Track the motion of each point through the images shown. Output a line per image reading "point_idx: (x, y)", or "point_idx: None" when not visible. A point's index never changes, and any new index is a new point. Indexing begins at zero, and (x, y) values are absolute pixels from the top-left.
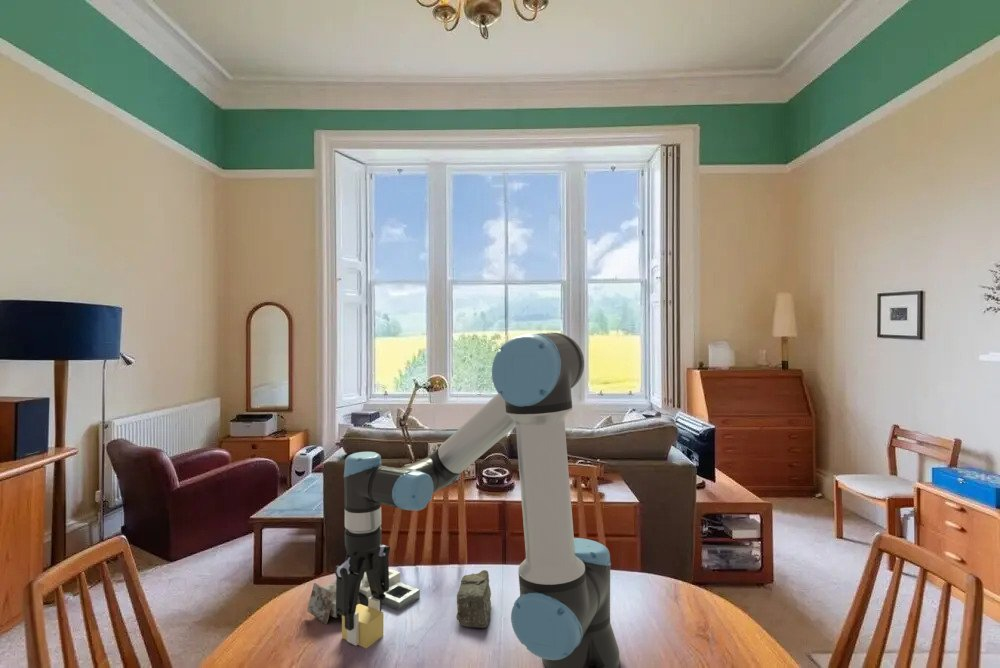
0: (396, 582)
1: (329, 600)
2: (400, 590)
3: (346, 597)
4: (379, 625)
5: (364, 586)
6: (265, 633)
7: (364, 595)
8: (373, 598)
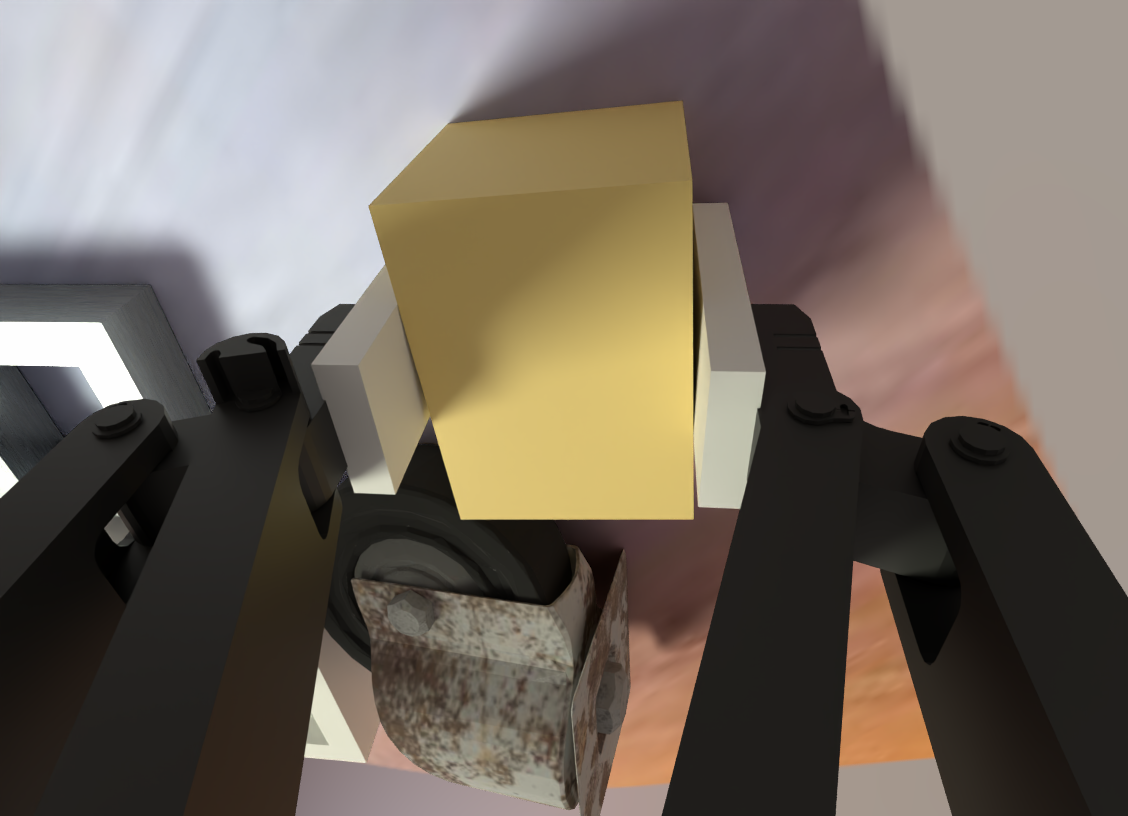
0: None
1: (590, 689)
2: (35, 445)
3: (1106, 695)
4: (472, 158)
5: None
6: (862, 702)
7: None
8: (355, 446)
